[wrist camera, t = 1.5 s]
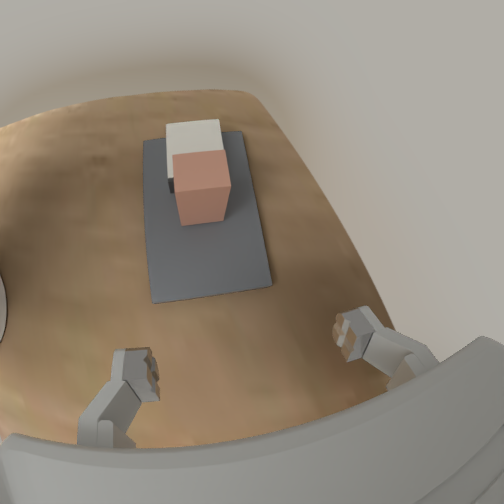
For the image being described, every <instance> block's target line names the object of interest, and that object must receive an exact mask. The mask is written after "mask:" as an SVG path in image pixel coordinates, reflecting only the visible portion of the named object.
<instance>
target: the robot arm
mask: <svg viewBox="0 0 504 504" xmlns="http://www.w3.org/2000/svg"><path fill="white" fill-rule="evenodd" d="M335 320H336V321H337V322H336V323H335V324H334V326H333V329H332V335H333V339H334V341H335V343H336V345H338V346H340V347H341V354H342V355H343V357H344V359H345V360H346V362H350V361H353V360H356V359H359V358H362V359H364V360H365V361H367V362H368V363H370V364H371V365H373V366H374V367H376V368H377V369H379V370H380V371H382V372H383V373H385V374H387V375H388V376H390V377H391V379H390V380H389V382H388V383H387V385H386V388H387V390H388V391H387V392H385V393H383V394H381V395H379V396H376V397H374V398H372V399H370V400H367V401H365V402H363V403H360V404H358V405H355V406H353V407H350V408H348V409H345V410H343V411H340V412H337V413H334V414H332V415H329V416H326V417H323V418H320V419H317V420H314V421H311V422H307V423H304V424H301V425H297V426H294V427H290V428H287V429H283V430H279V431H275V432H271V433H267V434H262V435H258V436H253V437H248V438H243V439H237V440H232V441H225V442H219V443H212V444H204V445H195V446H184V447H170V448H136V443H135V442H134V441H133V440H132V439H130V438H129V437H128V436H127V435H126V434H125V433H126V431H127V429H128V428H129V426H130V424H131V422H132V420H133V418H134V417H135V415H136V413H137V411H138V409H139V408H140V406H141V404H142V403H141V402H152V401H160V388H159V386H158V384H157V381H158V380H159V370H158V365H157V362H156V360H155V358H153V357H152V351H151V349H150V347H142V348H126V349H115V351H114V355H113V363H112V371H111V381H107V383H106V384H105V385H104V386H103V388H102V389H101V390H100V391H99V393H98V394H97V395H96V396H95V398H94V399H93V400H92V402H91V403H90V404H89V405H88V407H87V408H86V409H85V411H84V412H83V413H82V415H81V416H80V417H79V423H78V435H77V445H76V444H68V443H62V442H56V441H50V440H45V439H40V438H35V437H31V436H27V435H23V434H19V433H12V434H10V435H9V436H8V437H7V438H6V439H5V440H4V441H3V442H2V443H1V444H0V504H504V346H503V345H502V344H501V343H499V342H497V341H495V340H493V339H490V338H488V337H485V336H480V337H478V338H477V339H475V340H474V341H472V342H471V343H470V344H468V345H467V346H465V347H464V348H462V349H461V350H459V351H458V352H456V353H455V354H453V355H452V356H450V357H449V358H447V359H446V360H444V361H443V362H441V363H439V362H438V360H437V359H436V358H435V356H434V355H433V354H432V353H431V351H430V350H429V349H428V347H427V346H426V345H424V344H422V343H420V342H418V341H416V340H413V339H411V338H409V337H407V336H405V335H403V334H401V333H398V332H396V331H394V330H392V329H390V328H388V327H387V328H385V327H384V326H383V325H382V323H381V322H380V321H379V320H378V318H377V317H376V316H375V314H374V313H373V312H372V311H371V309H370V308H369V307H368V306H366V305H365V306H361V307H358V308H354V309H350V310H347V311H343V312H339V313H338V314H337V315H336V318H335ZM5 323H6V296H5V290H4V285H3V282H2V279H1V276H0V341H1V339H2V336H3V333H4V329H5Z"/></svg>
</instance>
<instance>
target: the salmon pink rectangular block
mask: <svg viewBox="0 0 504 504" xmlns="http://www.w3.org/2000/svg"><path fill="white" fill-rule="evenodd" d="M172 159H173V176H174V190H175V197H176V202H177V207H178V212H179V217H180V222H181V226H187V225H194V224H202V223H210V222H218V221H223V220H224V216H225V211H226V207H227V202H228V198H229V193H230V189H231V182H230V176H229V170H228V164H227V158H226V152H225V150H214V151H203V152H193V153H184V154H175V155H172Z"/></svg>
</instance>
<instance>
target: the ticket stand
mask: <svg viewBox="0 0 504 504" xmlns="http://www.w3.org/2000/svg"><path fill="white" fill-rule="evenodd" d="M214 150H225V152H226V158H227V164H228V170H229V176H230V182H231V189H230V193H229V198H228V202H227V207H226V211H225V216H224V220H223V221H218V222H210V223H202V224H194V225H187V226H181V222H180V217H179V212H178V207H177V202H176V197H175V190H174V176H173V159H172V155H175V154H184V153H193V152H203V151H214ZM143 198H144V222H145V238H146V251H147V262H148V272H149V281H150V289H151V297H152V303H153V304H158V303H166V302H173V301H181V300H188V299H195V298H202V297H209V296H215V295H222V294H228V293H235V292H241V291H247V290H253V289H259V288H265V287H270V286H272V280H271V275H270V270H269V265H268V260H267V254H266V249H265V244H264V239H263V234H262V229H261V224H260V219H259V214H258V209H257V204H256V199H255V194H254V189H253V184H252V179H251V174H250V169H249V165H248V160H247V155H246V150H245V145H244V141H243V136H242V131H234V132H221V129H220V123H219V119H212V120H199V121H188V122H179V123H171V124H166V138H160V139H153V140H147V141H144V143H143Z"/></svg>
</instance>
